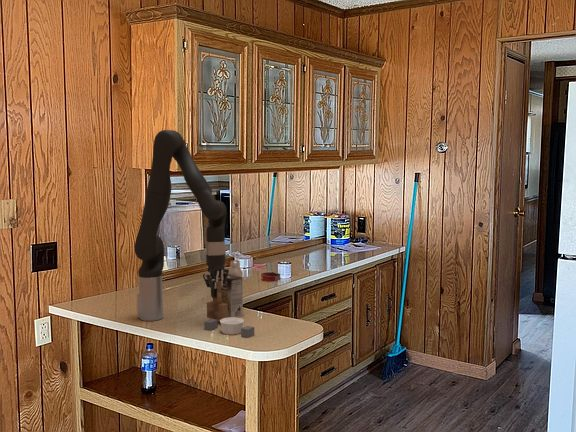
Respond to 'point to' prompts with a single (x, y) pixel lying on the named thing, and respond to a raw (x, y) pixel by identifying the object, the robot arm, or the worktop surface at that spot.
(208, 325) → the slate blocks
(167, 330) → the worktop surface
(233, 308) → the coffee box
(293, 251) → the worktop surface
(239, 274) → the plastic bottle
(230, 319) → the ramekin
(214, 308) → the stepped wooden block
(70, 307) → the worktop surface
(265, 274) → the red and clear container
